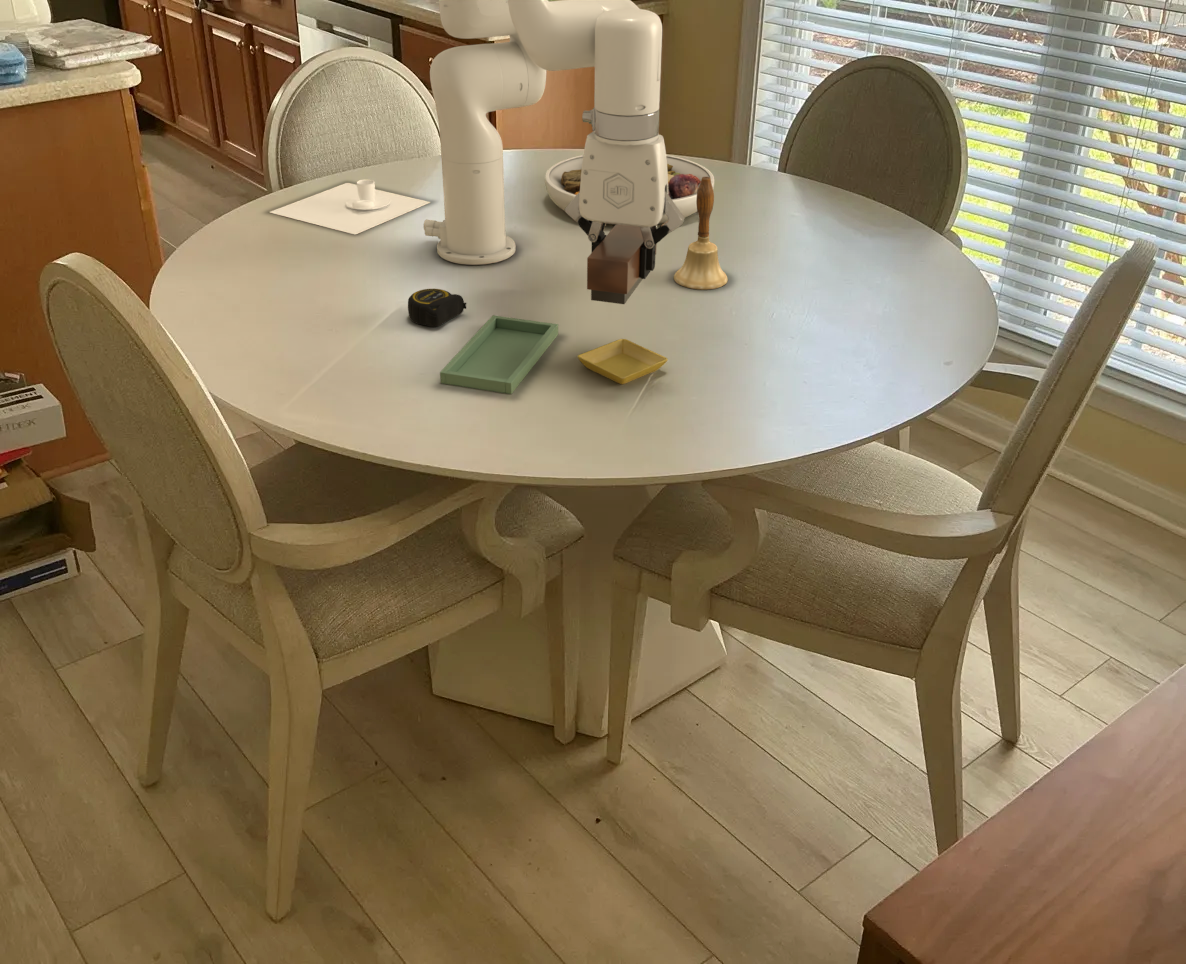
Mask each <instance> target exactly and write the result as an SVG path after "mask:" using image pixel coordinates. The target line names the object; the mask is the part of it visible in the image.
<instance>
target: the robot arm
mask: <svg viewBox="0 0 1186 964" xmlns="http://www.w3.org/2000/svg"><path fill="white" fill-rule="evenodd" d="M438 11H439V18H440V22H441V26H442V28H443V30H444V31H445V32H446V34H447V35H449V36H451V37H453V38H457V39H466V40H467V39H468V40H469V39H482V38H494V37H509V41H504V42H494V43H479V44H468V45H460V46H454V47H450V48H447V49H444V50H442V51H441V52H439V53H438V54H437V55H436V56H434V58H433V60H432V62H431V64H430V68H429V80H430V86H431V91H432V95H433V100H434V104H435V105H434V106H435V108H436V116H437V121H438V130H439V141H440V157H441V171H442V172H441V173H442V175H441V176H442V191H443V206H444V207H443V209H444V219H443V220H442V221H438V220H434V219H425V220H424V222H423V231H424V235H425V236H426V237H437V238H438V239H439V241H438V243H437V245H436V250H437V251H436V252H437V255H438V256H439V257H440V258H441V259H443V260H445V261H447V262H451V263H455V264H460V265H470V266H478V265H479V266H480V265H489V264H490V265H491V264H494V263H499V262H502V261H505V260H507V259H509V258H511V257H512V256H513V255H514V254H515V253H516V242H515V240H514V239H513V238H511V237H510V236H508V235H506V210H505V209H506V207H505V206H506V205H505V177H504V175H505V172H504V145H503V140H502V138H501V134H500V133H499V132H498V130H497V129H496V127H495V126H494V125H493V124H492V123H491V122H490V120H489V119H488V118H487V113H491V112H496V111H504V110H510V109H519V108H520V109H521V108H526V107H530V106H533V105H536V104H537V103H538V102H539V101H540V100H541V99H542V98H543V95H544V93H545V89H546V83H547V71H549V72H557V71H559V72H560V71H567V70H568V71H569V70H576V69H577V70H578V69H585V68H594V95H593V96H594V99H593V101H594V107H593V108H592V109H589V110H583V112H582V114H581V115H582V117H581V118H582V119H581V121H582V123H588V124H589V125H591V127H592V129H591V132H590V133H588V134H587V135H586V139H585V144H584V148H583V154H582V155H583V162H582V172H581V183H580V192H579V193H578V194H577V195H576V196H575V198H574V199H573V200H572V201H571V202H570V203H569V204H568V206H567V207H566V208H565V211H564V212H565V213H566V214H567V215H568V216H569V217H570V218H571V219H572V220H574V222H576V223H577V225H578V226H579V228H580V229H581V230H582V231H583V232H584V233H585V235H587V239H588V241H589V242H591V253H592V252H593V251H594V250H595V248H596V247H597V246H598V245H599V244H600V243H601V241H602V240H603V239H604V238H605V237H606V236H607V235H608V234H606V233H605V229H606V226H607V224H606V223H609V224H608V225H614V224H618V225H627V226H637V227H640V229H641V233H642V237H643V240H644V242H643V246H642V247H641V249H640V271H639V277H640V278H641V279H642V280H646V278H648V276H649V275H650V273H651V272H653V271H654V270H655V267H656V255H657V248H656V244H657V245H658V243H659V242H661V240H663V239H664V238H665V237H666V236H667V235H669V234H670V233H672V232H673V231H675V230H676V229H678V228H679V227H681V226H682V225H683V224H684V222H685V218H686V217H685V218H684V216H683V215H682V213H681V212H680V211H679V209H678V208H677V206H676V205H675V203H674V202H673V201H672V199H671V198H670V196H669V195H668V170H667V158H666V155H667V151H666V145H665V139H664V136H663V135H661V134H659V132H660V131H659V130H660V129H659V127H660V102H661V101H660V100H661V75H662V51H663V50H662V49H663V47H662V46H663V23H662V20H661V18H660V16H659V15H658V13H656V12H654V11H651V10H648V9H644V8H643V9H642V8H640V7H639V6H638V5H637V4H636V3H634V2H633V1H632V0H552V1H550V0H438ZM664 214H666V215H667V217H668V218H669V220H668V221H667V222H665V223H661V225H660V226H658V225H659V224H658V223H659V222H660V221H661V219H662V216H663V215H664ZM591 253H590V254H591ZM655 254H656V255H655Z"/></svg>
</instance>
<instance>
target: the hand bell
mask: <svg viewBox="0 0 1186 964" xmlns="http://www.w3.org/2000/svg"><path fill="white" fill-rule="evenodd" d="M714 203H715V192H714V188H713V187H712V184H711V178H710V177H702V180H701V183H700V186H699V188H698V191H697V200H696V204H697V215H698V227H697V228H698V229H697V240H696V241H693V242H691V243H689V245H688V247H687V252H686V256H685V259H684V262H683V264H682V265H681V267H680V268H679V269H677V270H676V271H675V273H674V275H673V280H674V282H675V283H676V284H677V285H679V286H682V287H684V288H687V289H691V290H698V291H702V290H703V291H704V290H706V291H707V290H716V289H719V288H722V287H723V286H725V285H726V284H728V280H729V279H728V276H727V274H726V272H725V271H723V269H722V267H721V265H720V261H719V254H718V253H719V251H718V246H717V245H716V244H715V243H714V242H711V241H710V219H711V215H712V211H713V208H714Z"/></svg>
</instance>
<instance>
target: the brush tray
mask: <svg viewBox="0 0 1186 964" xmlns="http://www.w3.org/2000/svg"><path fill="white" fill-rule="evenodd" d="M558 335H559V324H558V323H553V322H544V321H537V320H530V319H524V318H516V317H508V316H502V315H495V314H493V315H492V316H490V318H489V319H488V320H487V321H486V322H485V323H484V324H483V325H482V326H481V327H480V328H479V329H478V331H477V332H476V333H475V334H474V335H473V336H472V337H471V338H470V339H469V340H468V342H467V343H465V345H464V346H462V348H461V349H460V350H459V351H458V352H457V353H456V354H455V356H453V358H452V359H451V360H450V361H449V362H448V363H447V364H446V365H445V366H444V367H443V368H442V369H441V371H440V372H439V377H440V379H439V381H440V384H441V385H443V384H444V385H450V386H455V387H462V388H469V389H475V390H482V391H488V392H493V393H494V392H495V393H501V394H507V395H512V394H513V393H514V392H515V391H516V389H517V388H518V387H519V386H520V384H521V383H522V382H523V380H524V379H525V378H526V376H527V375H528V374H529V372H530V371H531V370H532V369H533V368H534V367H535V365H536V364H537V362H538V361H539V360H540V359H541V357H542V356H543V355H544V353H545V352H546V351H547V350H548V349H549V348H550V346H551V344H552V343H553V342H554V340H555V339H556V338H557V337H558Z"/></svg>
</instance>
